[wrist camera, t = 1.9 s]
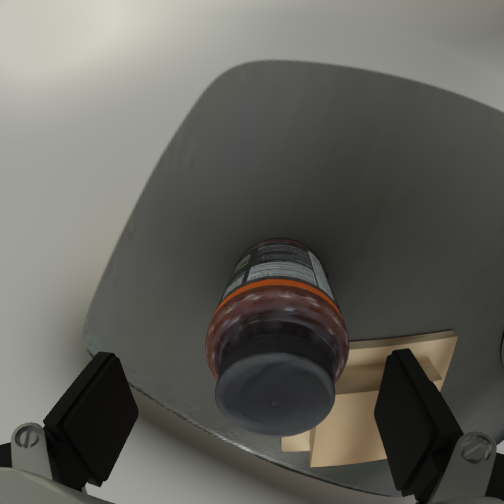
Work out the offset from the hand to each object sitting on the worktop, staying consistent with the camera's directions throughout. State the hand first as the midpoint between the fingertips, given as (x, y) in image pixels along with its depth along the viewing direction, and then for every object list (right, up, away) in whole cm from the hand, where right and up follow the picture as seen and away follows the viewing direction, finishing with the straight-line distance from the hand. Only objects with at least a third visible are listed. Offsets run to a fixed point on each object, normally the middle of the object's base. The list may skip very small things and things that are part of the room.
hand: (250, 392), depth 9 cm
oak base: (+9, -8, +12) cm, 17 cm away
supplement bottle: (+2, +3, +10) cm, 11 cm away
